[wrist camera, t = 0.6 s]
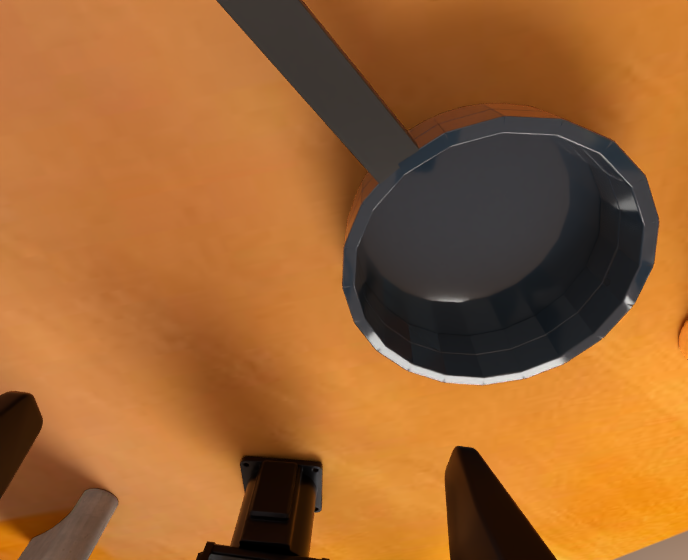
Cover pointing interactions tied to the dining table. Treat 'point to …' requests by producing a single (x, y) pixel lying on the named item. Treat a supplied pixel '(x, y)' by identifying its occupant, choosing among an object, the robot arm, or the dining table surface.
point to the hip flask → (75, 530)
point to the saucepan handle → (326, 80)
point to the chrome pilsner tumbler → (684, 339)
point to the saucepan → (498, 245)
